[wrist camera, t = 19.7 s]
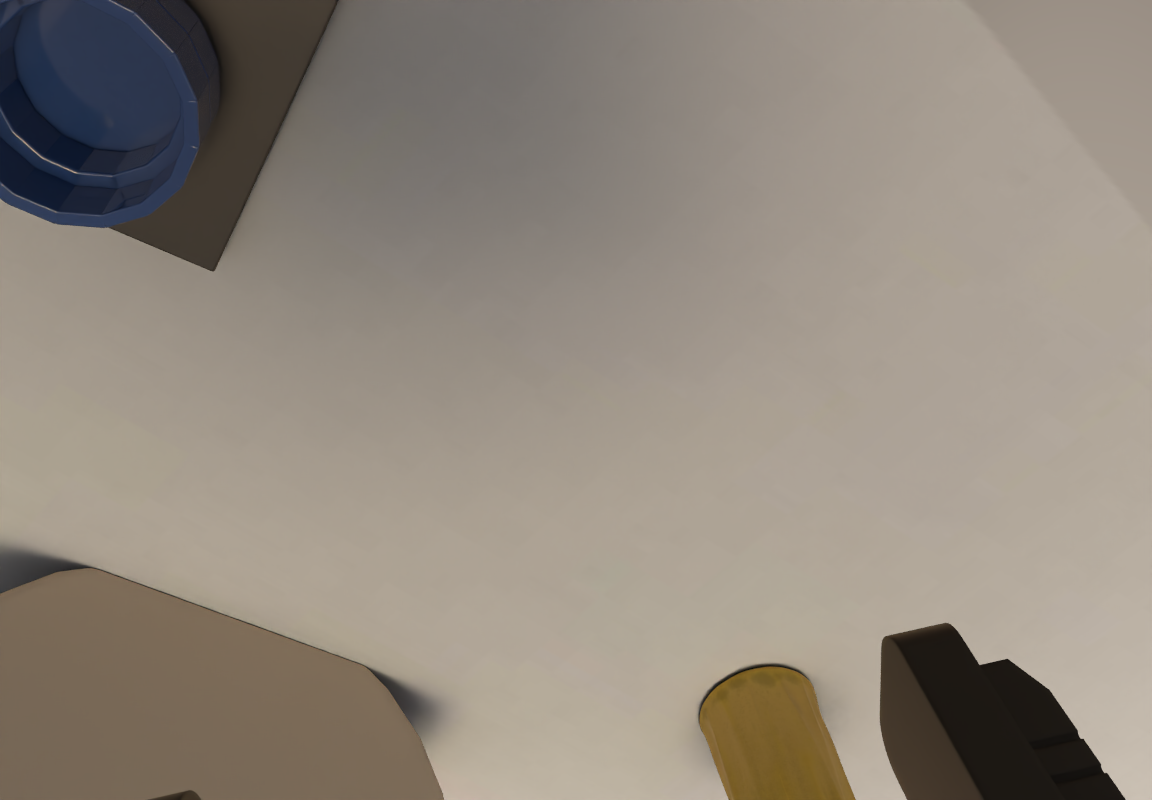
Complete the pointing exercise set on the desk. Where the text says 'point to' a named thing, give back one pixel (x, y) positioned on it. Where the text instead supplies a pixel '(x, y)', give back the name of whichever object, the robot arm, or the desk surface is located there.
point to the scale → (236, 119)
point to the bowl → (101, 106)
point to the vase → (772, 738)
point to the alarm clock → (185, 704)
